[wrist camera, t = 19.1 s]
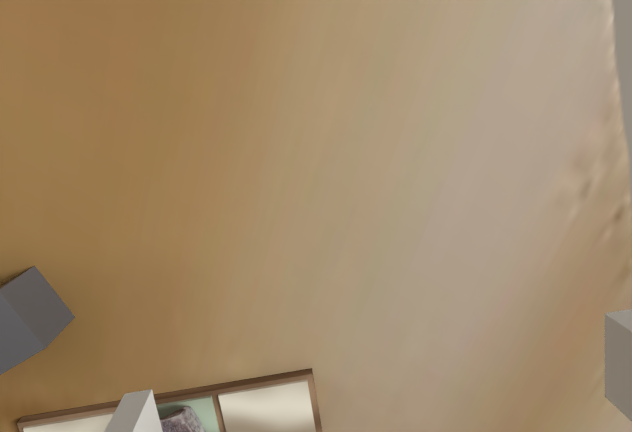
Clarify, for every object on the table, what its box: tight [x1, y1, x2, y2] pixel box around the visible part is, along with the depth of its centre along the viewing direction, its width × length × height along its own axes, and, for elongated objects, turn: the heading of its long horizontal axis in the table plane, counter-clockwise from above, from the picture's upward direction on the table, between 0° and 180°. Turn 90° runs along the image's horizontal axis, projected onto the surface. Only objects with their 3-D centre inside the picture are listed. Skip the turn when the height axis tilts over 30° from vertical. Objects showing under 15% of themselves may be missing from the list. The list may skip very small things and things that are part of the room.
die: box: [0, 266, 75, 375], centre depth 43 cm, size 6×6×6 cm
